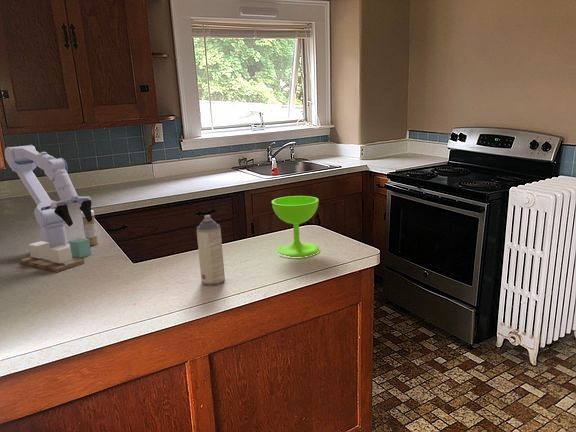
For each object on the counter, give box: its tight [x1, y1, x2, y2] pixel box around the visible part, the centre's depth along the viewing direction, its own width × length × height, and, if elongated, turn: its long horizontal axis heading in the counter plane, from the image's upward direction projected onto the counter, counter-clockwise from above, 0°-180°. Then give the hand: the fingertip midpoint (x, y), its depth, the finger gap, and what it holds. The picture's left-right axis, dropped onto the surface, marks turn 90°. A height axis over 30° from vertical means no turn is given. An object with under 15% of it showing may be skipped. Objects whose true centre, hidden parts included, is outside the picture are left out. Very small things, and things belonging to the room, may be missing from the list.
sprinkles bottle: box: [80, 209, 99, 246], centre depth 181 cm, size 5×5×13 cm
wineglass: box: [271, 195, 320, 257], centre depth 160 cm, size 16×16×18 cm
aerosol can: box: [196, 214, 226, 287], centre depth 135 cm, size 7×7×20 cm
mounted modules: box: [28, 240, 72, 263], centre depth 161 cm, size 18×4×4 cm, turn 58°
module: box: [68, 237, 92, 259], centre depth 168 cm, size 5×4×6 cm
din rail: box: [29, 254, 74, 265], centre depth 162 cm, size 21×4×1 cm, turn 58°
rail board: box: [19, 256, 85, 273], centre depth 162 cm, size 22×10×1 cm, turn 58°
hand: (80, 223), depth 166 cm, fingers open, 7 cm apart
